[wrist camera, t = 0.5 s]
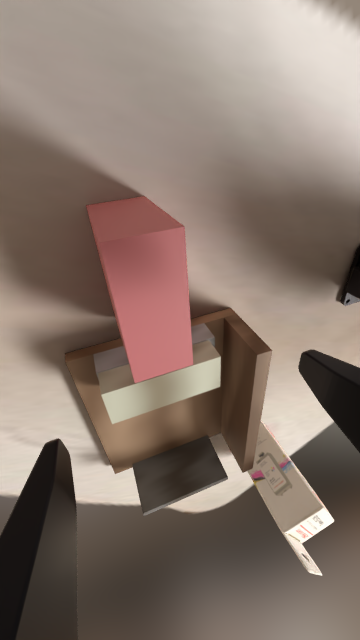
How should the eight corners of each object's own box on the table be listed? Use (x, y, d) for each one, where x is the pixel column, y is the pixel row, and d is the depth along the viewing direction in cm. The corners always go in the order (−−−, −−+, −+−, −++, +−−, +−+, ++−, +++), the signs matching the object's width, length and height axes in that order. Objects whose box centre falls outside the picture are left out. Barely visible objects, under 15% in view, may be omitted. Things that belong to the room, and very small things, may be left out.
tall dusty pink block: (144, 196, 17) (184, 226, 11) (159, 305, 21) (193, 364, 16) (85, 205, 16) (98, 242, 10) (115, 317, 21) (134, 383, 15)
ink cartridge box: (274, 433, 40) (358, 552, 29) (246, 452, 41) (319, 578, 29) (256, 410, 35) (351, 545, 24) (224, 432, 35) (303, 576, 24)
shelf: (230, 308, 24) (272, 350, 19) (226, 422, 34) (252, 468, 29) (65, 353, 21) (66, 418, 16) (113, 465, 31) (123, 524, 26)
